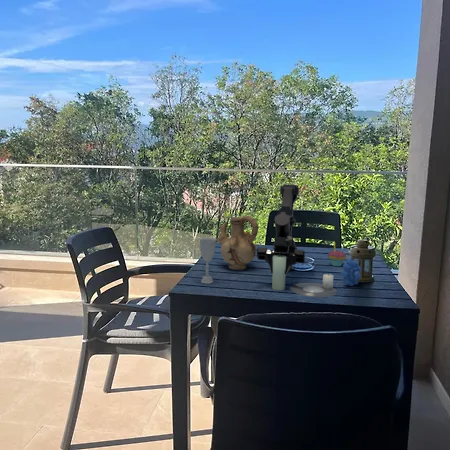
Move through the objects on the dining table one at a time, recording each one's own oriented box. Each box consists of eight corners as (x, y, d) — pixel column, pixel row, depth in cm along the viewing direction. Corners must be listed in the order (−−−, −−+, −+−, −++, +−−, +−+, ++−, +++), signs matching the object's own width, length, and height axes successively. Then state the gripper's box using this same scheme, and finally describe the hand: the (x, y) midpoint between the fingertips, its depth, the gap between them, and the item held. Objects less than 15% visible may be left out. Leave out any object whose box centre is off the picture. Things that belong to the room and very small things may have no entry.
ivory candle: (325, 285, 183) (326, 271, 182) (334, 287, 181) (335, 273, 180) (320, 287, 180) (321, 273, 179) (329, 289, 178) (330, 275, 177)
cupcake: (326, 266, 218) (327, 241, 216) (328, 262, 226) (330, 238, 224) (344, 268, 215) (346, 243, 213) (346, 264, 223) (348, 240, 221)
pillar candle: (276, 286, 182) (277, 252, 179) (287, 288, 179) (288, 254, 176) (269, 289, 178) (270, 254, 176) (280, 291, 175) (281, 256, 172)
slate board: (304, 282, 190) (304, 279, 190) (344, 292, 179) (345, 288, 179) (281, 293, 176) (281, 289, 176) (323, 303, 165) (323, 300, 165)
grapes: (350, 292, 178) (352, 263, 176) (336, 288, 184) (338, 259, 182) (368, 287, 186) (370, 259, 183) (354, 283, 191) (356, 255, 189)
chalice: (218, 280, 191) (218, 238, 188) (212, 284, 185) (213, 241, 182) (201, 278, 194) (202, 236, 191) (195, 282, 187) (196, 239, 184)
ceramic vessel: (251, 262, 223) (253, 211, 219) (263, 272, 205) (265, 217, 200) (215, 263, 219) (215, 212, 215) (223, 274, 200) (224, 218, 196)
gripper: (257, 227, 180) (252, 261, 171) (306, 229, 176) (303, 264, 167) (260, 242, 189) (255, 275, 180) (305, 245, 185) (303, 279, 176)
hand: (278, 273), depth 176 cm, fingers closed on pillar candle, 5 cm apart
